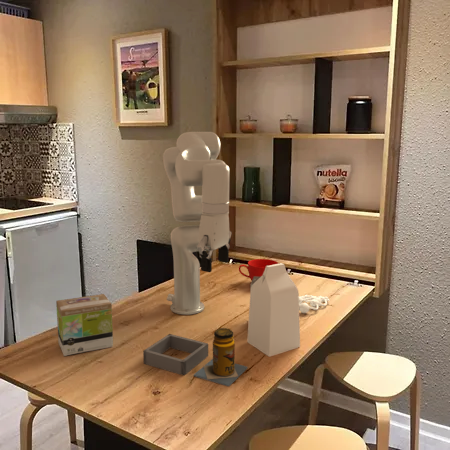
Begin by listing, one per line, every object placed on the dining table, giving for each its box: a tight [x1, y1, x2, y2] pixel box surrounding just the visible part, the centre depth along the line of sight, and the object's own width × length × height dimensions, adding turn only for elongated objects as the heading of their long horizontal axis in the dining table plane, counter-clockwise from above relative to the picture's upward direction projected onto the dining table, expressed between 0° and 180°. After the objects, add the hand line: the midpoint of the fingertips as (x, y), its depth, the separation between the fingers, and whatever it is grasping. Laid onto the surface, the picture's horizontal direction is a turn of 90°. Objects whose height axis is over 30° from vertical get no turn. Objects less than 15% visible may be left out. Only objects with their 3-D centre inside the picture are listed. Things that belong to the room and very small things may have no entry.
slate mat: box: [193, 358, 248, 387], centre depth 135 cm, size 11×11×1 cm
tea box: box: [55, 293, 114, 357], centre depth 149 cm, size 15×10×15 cm, turn 118°
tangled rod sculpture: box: [299, 294, 331, 314], centre depth 184 cm, size 19×14×4 cm
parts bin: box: [142, 333, 209, 376], centre depth 141 cm, size 14×13×4 cm
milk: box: [247, 262, 301, 357], centre depth 149 cm, size 12×12×26 cm
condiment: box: [203, 327, 238, 379], centre depth 133 cm, size 7×8×12 cm
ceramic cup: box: [238, 258, 279, 282], centre depth 206 cm, size 13×17×10 cm
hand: (215, 266), depth 138 cm, fingers open, 9 cm apart
